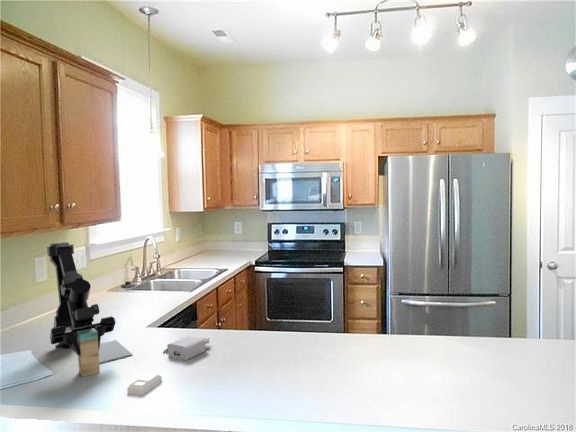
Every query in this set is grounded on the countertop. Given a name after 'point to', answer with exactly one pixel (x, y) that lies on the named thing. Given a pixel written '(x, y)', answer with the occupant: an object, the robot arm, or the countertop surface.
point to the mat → (112, 351)
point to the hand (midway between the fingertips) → (89, 352)
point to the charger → (187, 347)
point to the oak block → (88, 352)
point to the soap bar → (144, 384)
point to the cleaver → (167, 349)
